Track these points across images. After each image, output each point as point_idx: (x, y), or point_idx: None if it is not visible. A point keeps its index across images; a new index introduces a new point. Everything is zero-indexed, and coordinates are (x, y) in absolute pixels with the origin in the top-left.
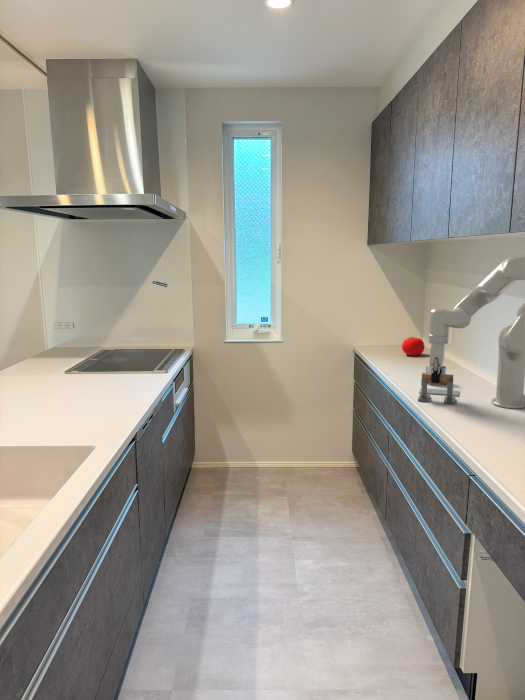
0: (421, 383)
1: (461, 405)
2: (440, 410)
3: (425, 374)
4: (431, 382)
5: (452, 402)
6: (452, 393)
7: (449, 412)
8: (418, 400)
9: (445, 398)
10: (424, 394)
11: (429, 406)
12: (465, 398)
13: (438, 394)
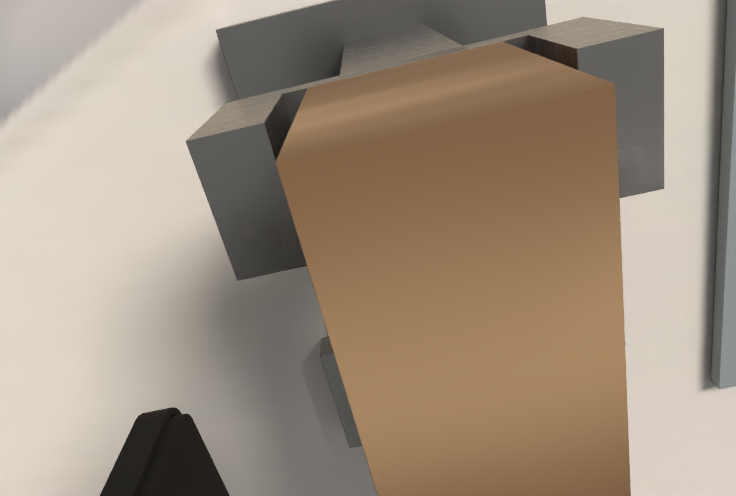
0: (216, 118)
1: (356, 480)
2: (39, 383)
3: (338, 289)
4: (144, 417)
5: (344, 428)
6: None
7: (42, 461)
8: (224, 35)
9: None
10: None
11: (98, 244)
12: (647, 448)
13: (724, 170)
